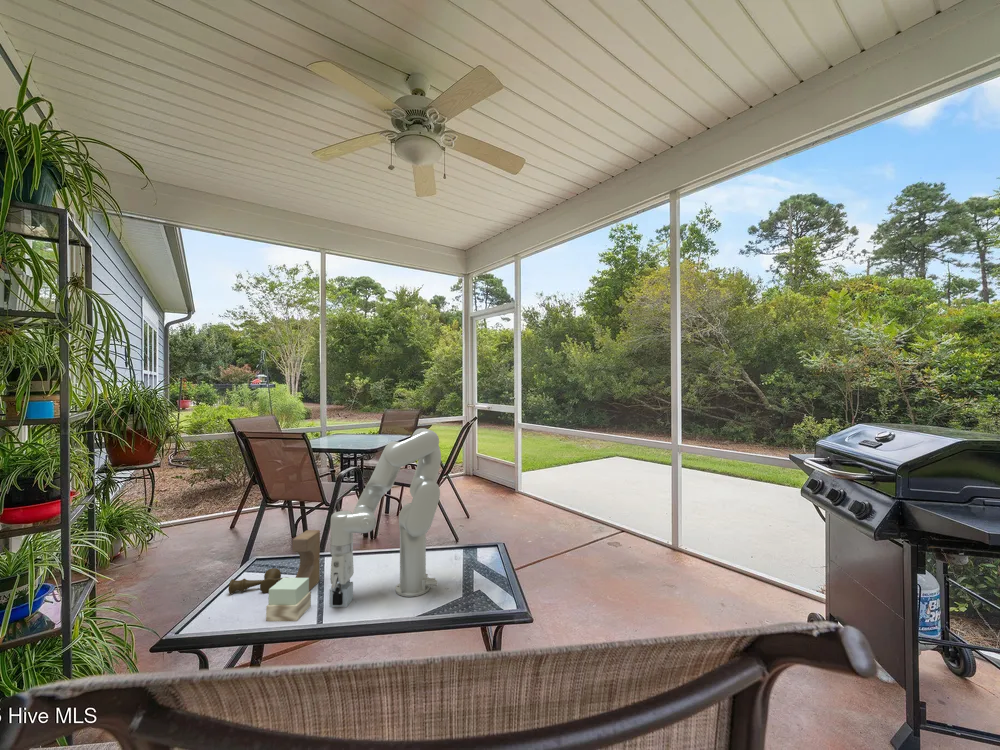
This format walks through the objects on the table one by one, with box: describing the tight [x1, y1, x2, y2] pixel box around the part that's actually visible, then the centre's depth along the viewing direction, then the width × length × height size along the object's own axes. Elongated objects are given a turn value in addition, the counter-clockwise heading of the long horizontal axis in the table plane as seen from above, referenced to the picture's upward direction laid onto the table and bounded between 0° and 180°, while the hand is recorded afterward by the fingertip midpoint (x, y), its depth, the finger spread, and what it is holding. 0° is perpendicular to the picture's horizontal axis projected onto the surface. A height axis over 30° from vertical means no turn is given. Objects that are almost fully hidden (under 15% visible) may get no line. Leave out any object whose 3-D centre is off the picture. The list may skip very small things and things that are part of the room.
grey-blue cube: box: [328, 581, 354, 608], centre depth 151 cm, size 6×6×6 cm
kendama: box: [228, 567, 290, 595], centre depth 162 cm, size 6×10×20 cm
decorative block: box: [292, 529, 321, 592], centre depth 164 cm, size 11×6×20 cm, turn 177°
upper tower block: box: [268, 577, 310, 605], centre depth 145 cm, size 9×9×5 cm
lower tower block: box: [265, 591, 312, 622], centre depth 144 cm, size 10×10×5 cm
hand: (341, 599), depth 151 cm, fingers closed on grey-blue cube, 6 cm apart
